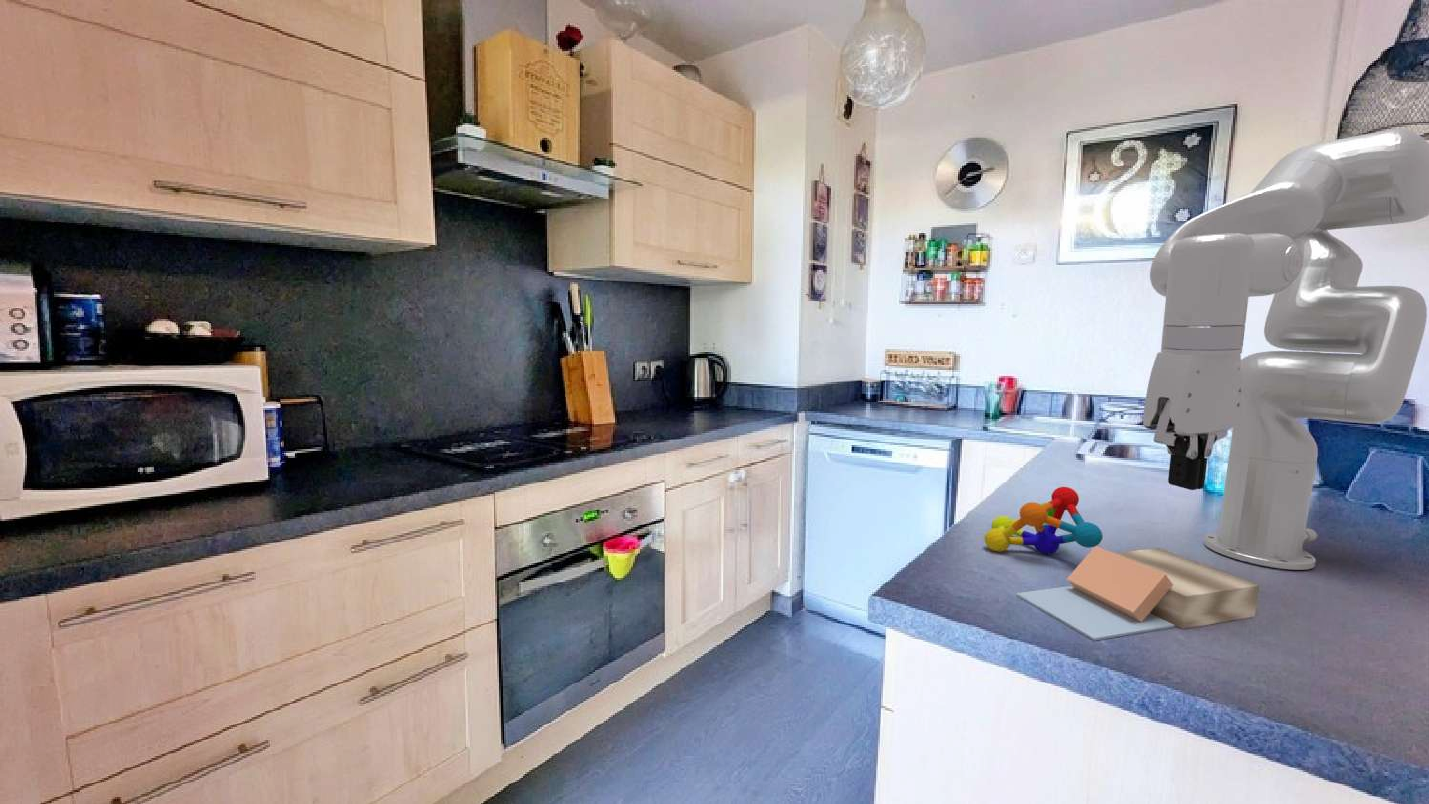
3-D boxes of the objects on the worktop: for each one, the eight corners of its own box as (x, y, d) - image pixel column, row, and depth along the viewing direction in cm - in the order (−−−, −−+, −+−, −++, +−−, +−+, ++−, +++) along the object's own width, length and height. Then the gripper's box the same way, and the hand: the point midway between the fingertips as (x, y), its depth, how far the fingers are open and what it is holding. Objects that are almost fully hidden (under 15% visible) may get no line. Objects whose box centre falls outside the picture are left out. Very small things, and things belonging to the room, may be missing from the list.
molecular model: (1001, 584, 84) (1114, 556, 78) (974, 524, 84) (1084, 492, 79) (992, 548, 98) (1087, 522, 92) (969, 497, 98) (1062, 468, 93)
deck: (1154, 574, 80) (1158, 547, 80) (1254, 616, 69) (1259, 585, 68) (1088, 583, 77) (1091, 555, 76) (1181, 629, 66) (1186, 596, 65)
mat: (1088, 585, 76) (1088, 583, 76) (1174, 627, 66) (1174, 624, 66) (1016, 595, 73) (1016, 593, 73) (1093, 640, 63) (1094, 638, 63)
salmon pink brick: (1102, 555, 75) (1095, 545, 75) (1173, 584, 67) (1165, 574, 66) (1073, 588, 75) (1066, 578, 74) (1141, 622, 66) (1133, 612, 66)
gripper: (1212, 336, 74) (1197, 472, 77) (1123, 342, 70) (1111, 484, 73) (1282, 339, 67) (1262, 488, 70) (1188, 345, 63) (1171, 503, 66)
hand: (1185, 486), depth 72 cm, fingers closed
